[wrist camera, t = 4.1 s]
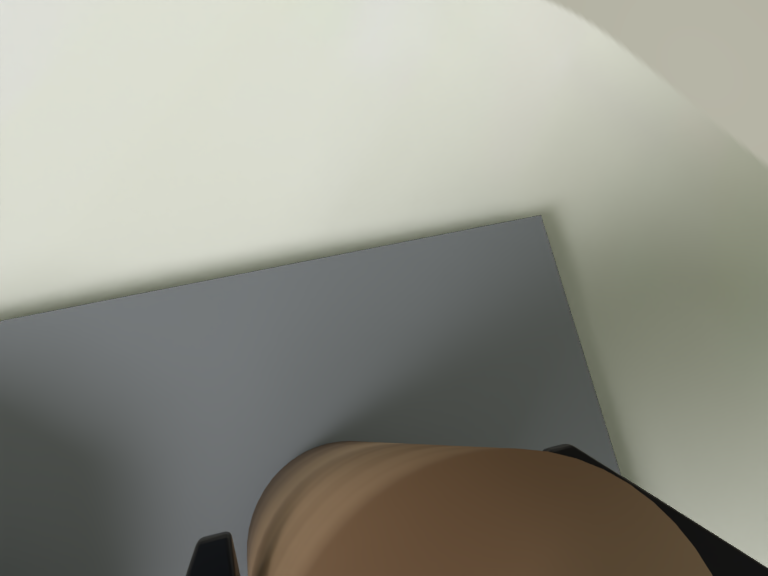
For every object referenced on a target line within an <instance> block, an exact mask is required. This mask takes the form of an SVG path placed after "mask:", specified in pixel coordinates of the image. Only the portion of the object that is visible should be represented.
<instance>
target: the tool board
mask: <svg viewBox="0 0 768 576" xmlns="http://www.w3.org/2000/svg"><path fill="white" fill-rule="evenodd" d="M341 441H361V442H383V443H405V444H427V445H449V446H472V447H494V448H516V449H528V450H538V451H543V450H544V449H546V448H549V447H553V446H557V445H561V444H571V445H573V446H575V447H577V448H578V449H580V450H582V451H583V452H585V453H586V454H588V455H589V456H591V457H593V458H594V459H596V460H597V461H599V462H601V463H602V464H604V465H605V466H607V467H608V468H610V469H612V470H613V471H615V472H616V473H618V474H620V470H619V467H618V464H617V461H616V457H615V454H614V451H613V448H612V444H611V441H610V438H609V435H608V431H607V428H606V425H605V422H604V418H603V415H602V412H601V409H600V405H599V402H598V399H597V396H596V392H595V389H594V386H593V383H592V379H591V376H590V373H589V370H588V366H587V363H586V360H585V357H584V353H583V350H582V347H581V344H580V340H579V337H578V334H577V331H576V327H575V324H574V321H573V318H572V314H571V311H570V308H569V305H568V301H567V298H566V295H565V292H564V288H563V285H562V282H561V279H560V275H559V272H558V269H557V266H556V262H555V259H554V256H553V253H552V250H551V246H550V243H549V240H548V237H547V233H546V230H545V227H544V224H543V220H542V217H541V215H539V216H533V217H528V218H523V219H518V220H513V221H508V222H503V223H498V224H493V225H488V226H482V227H477V228H472V229H467V230H462V231H457V232H452V233H447V234H442V235H437V236H431V237H426V238H421V239H416V240H411V241H406V242H401V243H396V244H391V245H386V246H380V247H375V248H370V249H365V250H360V251H355V252H350V253H345V254H340V255H335V256H329V257H324V258H319V259H314V260H309V261H304V262H299V263H294V264H289V265H284V266H278V267H273V268H268V269H263V270H258V271H253V272H248V273H243V274H238V275H233V276H227V277H222V278H217V279H212V280H207V281H202V282H197V283H192V284H187V285H182V286H176V287H171V288H166V289H161V290H156V291H151V292H146V293H141V294H136V295H131V296H125V297H120V298H115V299H110V300H105V301H100V302H95V303H90V304H85V305H80V306H74V307H69V308H64V309H59V310H54V311H49V312H44V313H39V314H34V315H29V316H23V317H18V318H13V319H8V320H3V321H0V576H186V573H187V570H188V567H189V564H190V561H191V558H192V555H193V552H194V548H195V546H196V544H197V542H198V540H199V539H200V538H202V537H205V536H209V535H213V534H217V533H220V532H224V531H227V532H230V533H231V535H232V538H233V543H234V547H235V552H236V557H237V561H238V566H239V571H240V576H248V569H247V539H248V532H249V526H250V523H251V519H252V515H253V512H254V510H255V507H256V505H257V502H258V500H259V499H260V497H261V495H262V493H263V491H264V490H265V488H266V487H267V485H268V484H269V483H270V481H271V480H272V478H273V477H274V476H275V475H276V474H277V473H278V472H279V471H280V470H281V469H282V468H283V467H284V466H285V465H287V464H288V463H289V462H290V461H291V460H293V459H294V458H296V457H298V456H299V455H301V454H302V453H304V452H306V451H308V450H310V449H313V448H315V447H318V446H321V445H324V444H328V443H334V442H341ZM620 475H621V474H620Z"/></svg>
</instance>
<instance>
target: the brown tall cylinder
mask: <svg viewBox="0 0 768 576" xmlns="http://www.w3.org/2000/svg"><path fill="white" fill-rule="evenodd" d="M247 569H248V576H712V574H711V572H710V571H709V569H708V568H707V566H706V564H705V563H704V561H703V560H702V558H701V557H700V555H699V553H698V552H697V550H696V549H695V547H694V546H693V545H692V543H691V542H690V541H689V540H688V539H687V537H686V536H685V535H684V534H683V532H682V531H681V530H680V529H679V527H678V526H677V525H676V524H675V523H674V522H673V521H672V520H671V519H670V518H669V517H668V516H667V515H666V514H665V513H664V512H663V511H662V510H661V509H660V508H659V507H658V506H657V505H656V504H655V503H654V502H653V501H651V500H650V499H649V498H647V497H646V496H645V495H643V494H642V493H641V492H639V491H638V490H637V489H635V488H634V487H633V486H631V485H630V484H629V483H627V482H625V481H623V480H622V479H620V478H618V477H616V476H614V475H613V474H611V473H609V472H607V471H606V470H604V469H602V468H599V467H597V466H594V465H592V464H589V463H587V462H584V461H582V460H579V459H577V458H573V457H568V456H564V455H560V454H556V453H552V452H548V451H538V450H528V449H516V448H494V447H472V446H449V445H427V444H405V443H383V442H361V441H341V442H334V443H328V444H324V445H321V446H318V447H315V448H313V449H310V450H308V451H306V452H304V453H302V454H301V455H299V456H298V457H296V458H294V459H293V460H291V461H290V462H289V463H288V464H287V465H285V466H284V467H283V468H282V469H281V470H280V471H279V472H278V473H277V474H276V475H275V476H274V477H273V478H272V480H271V481H270V483H269V484H268V485H267V487H266V488H265V490H264V491H263V493H262V495H261V497H260V499H259V500H258V502H257V505H256V507H255V510H254V512H253V515H252V519H251V523H250V526H249V532H248V539H247Z"/></svg>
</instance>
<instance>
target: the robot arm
mask: <svg viewBox="0 0 768 576" xmlns="http://www.w3.org/2000/svg"><path fill="white" fill-rule="evenodd" d="M543 451H548V452H552V453H556V454H560V455H564V456H568V457H573V458H577V459H579V460H582V461H584V462H587V463H589V464H592V465H594V466H597V467H599V468H602V469H604V470H606V471H607V472H609V473H611V474H613V475H614V476H616V477H618V478H620V479H622V480H623V481H625V482H627V483H629V484H630V485H631V486H633V487H634V488H635V489H637V490H638V491H639V492H641V493H642V494H643V495H645V496H646V497H647V498H649V499H650V500H651V501H653V502H654V503H655V504H656V505H657V506H658V507H659V508H660V509H661V510H662V511H663V512H664V513H665V514H666V515H667V516H668V517H669V518H670V519H671V520H672V521H673V522H674V523H675V524H676V525H677V526H678V527H679V529H680V530H681V531H682V532H683V534H684V535H685V536H686V537H687V539H688V540H689V541H690V542H691V543H692V545H693V546H694V547H695V549H696V550H697V552H698V553H699V555H700V557H701V558H702V560H703V561H704V563H705V564H706V566H707V568H708V569H709V571H710V572H711V574H712V576H768V568H767V567H765V566H764V565H762V564H761V563H759V562H757V561H756V560H754V559H753V558H751V557H750V556H748V555H746V554H745V553H743V552H742V551H740V550H738V549H737V548H735V547H734V546H732V545H731V544H729V543H727V542H726V541H724V540H723V539H721V538H719V537H718V536H716V535H715V534H713V533H711V532H710V531H708V530H707V529H705V528H704V527H702V526H700V525H699V524H697V523H696V522H694V521H692V520H691V519H689V518H688V517H686V516H685V515H683V514H681V513H680V512H678V511H677V510H675V509H673V508H672V507H670V506H669V505H667V504H666V503H664V502H662V501H661V500H659V499H658V498H656V497H654V496H653V495H651V494H650V493H648V492H647V491H645V490H643V489H642V488H640V487H639V486H637V485H635V484H634V483H632V482H631V481H629V480H627V479H626V478H624V477H623V476H621V475H620V474H618V473H616V472H615V471H613V470H612V469H610V468H608V467H607V466H605V465H604V464H602V463H601V462H599V461H597V460H596V459H594V458H593V457H591V456H589V455H588V454H586V453H585V452H583V451H582V450H580V449H578V448H577V447H575V446H573V445H571V444H561V445H557V446H553V447H549V448H546V449H544V450H543ZM186 576H240V571H239V566H238V561H237V557H236V552H235V547H234V543H233V538H232V535H231V533H230V532H227V531H224V532H220V533H217V534H213V535H209V536H205V537H202V538H200V539H199V540H198V542H197V544H196V546H195V548H194V552H193V555H192V558H191V561H190V564H189V567H188V570H187V573H186Z"/></svg>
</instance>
